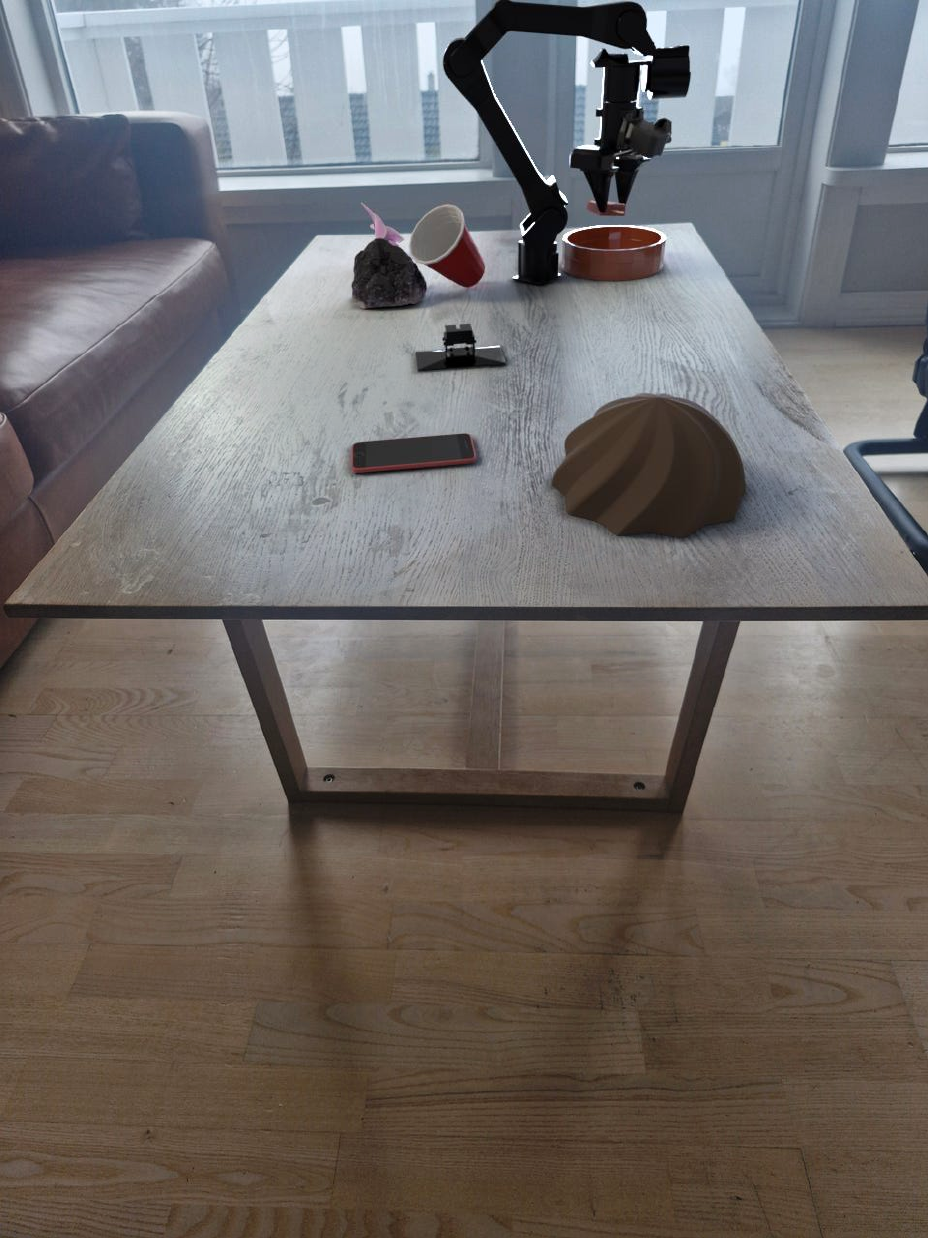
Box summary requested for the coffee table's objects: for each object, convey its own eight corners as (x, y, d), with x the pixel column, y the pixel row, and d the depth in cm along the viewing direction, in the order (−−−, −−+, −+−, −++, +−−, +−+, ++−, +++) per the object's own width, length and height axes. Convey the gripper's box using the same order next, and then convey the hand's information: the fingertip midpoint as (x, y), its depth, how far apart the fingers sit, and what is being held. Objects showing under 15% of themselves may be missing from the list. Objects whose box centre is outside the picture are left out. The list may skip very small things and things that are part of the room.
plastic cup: (497, 233, 139) (461, 190, 129) (499, 287, 136) (463, 249, 126) (444, 255, 144) (406, 216, 134) (446, 308, 142) (407, 273, 132)
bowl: (542, 270, 147) (543, 241, 144) (596, 248, 158) (598, 221, 155) (629, 286, 137) (631, 255, 134) (680, 261, 148) (684, 232, 145)
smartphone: (351, 441, 92) (470, 431, 93) (352, 446, 93) (470, 436, 94) (350, 469, 87) (477, 458, 88) (351, 474, 87) (477, 463, 88)
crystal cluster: (407, 318, 131) (409, 253, 125) (333, 305, 134) (332, 241, 128) (436, 300, 141) (439, 239, 135) (367, 289, 144) (367, 229, 139)
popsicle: (610, 206, 130) (583, 198, 142) (609, 218, 131) (582, 209, 143) (636, 207, 130) (607, 199, 143) (635, 219, 131) (606, 209, 144)
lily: (403, 273, 153) (419, 221, 150) (344, 250, 151) (360, 197, 148) (401, 277, 164) (416, 229, 162) (346, 255, 162) (360, 206, 159)
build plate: (499, 348, 117) (499, 316, 114) (506, 367, 111) (506, 333, 108) (415, 354, 116) (413, 321, 113) (417, 372, 110) (415, 339, 107)
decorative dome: (756, 543, 74) (778, 445, 68) (543, 531, 77) (545, 435, 71) (737, 449, 89) (754, 361, 82) (559, 442, 92) (562, 356, 86)
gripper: (631, 109, 117) (622, 225, 126) (695, 95, 127) (682, 203, 137) (569, 106, 123) (565, 217, 132) (635, 93, 133) (627, 197, 143)
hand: (612, 208), depth 136 cm, fingers closed on popsicle, 6 cm apart
